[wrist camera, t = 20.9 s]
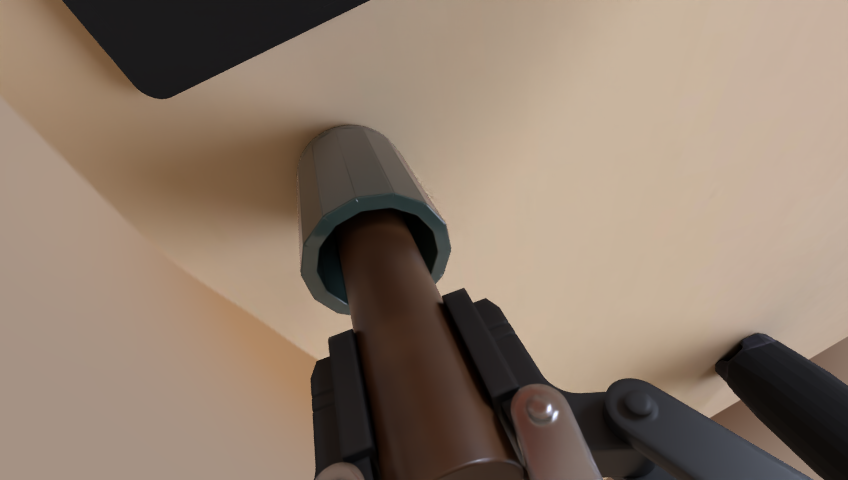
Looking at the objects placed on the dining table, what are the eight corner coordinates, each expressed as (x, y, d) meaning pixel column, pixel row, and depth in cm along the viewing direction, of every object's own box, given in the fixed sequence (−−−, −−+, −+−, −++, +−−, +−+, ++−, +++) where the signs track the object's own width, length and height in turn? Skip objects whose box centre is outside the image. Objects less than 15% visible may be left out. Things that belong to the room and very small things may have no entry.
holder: (320, 235, 23) (333, 335, 16) (277, 143, 19) (273, 225, 13) (413, 204, 23) (460, 289, 17) (387, 109, 20) (436, 171, 13)
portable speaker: (780, 319, 48) (1015, 481, 33) (754, 362, 54) (945, 518, 38) (722, 343, 47) (938, 522, 31) (703, 385, 53) (878, 554, 37)
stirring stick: (337, 211, 21) (408, 552, 9) (317, 163, 20) (370, 506, 7) (387, 194, 22) (527, 499, 9) (372, 145, 20) (522, 442, 7)
